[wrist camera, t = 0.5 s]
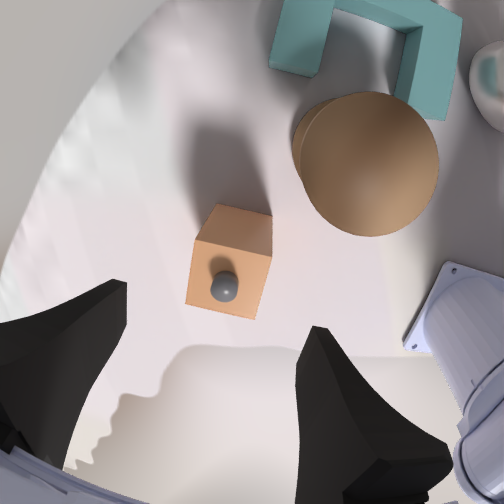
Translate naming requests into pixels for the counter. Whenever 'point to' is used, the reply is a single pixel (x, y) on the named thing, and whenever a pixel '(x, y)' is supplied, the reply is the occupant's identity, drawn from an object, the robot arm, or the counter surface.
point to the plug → (231, 261)
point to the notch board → (389, 14)
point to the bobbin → (366, 162)
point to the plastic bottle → (489, 83)
